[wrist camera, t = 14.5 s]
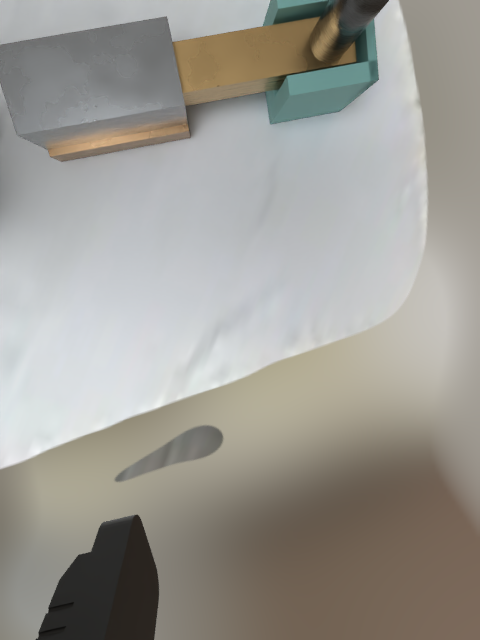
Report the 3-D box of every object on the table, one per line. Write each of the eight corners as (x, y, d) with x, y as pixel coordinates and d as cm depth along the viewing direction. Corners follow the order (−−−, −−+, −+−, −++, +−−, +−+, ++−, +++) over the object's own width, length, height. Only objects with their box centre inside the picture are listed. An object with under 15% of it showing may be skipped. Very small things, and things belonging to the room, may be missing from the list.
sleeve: (61, 161, 31) (19, 143, 24) (38, 82, 30) (-15, 37, 23) (190, 137, 32) (186, 113, 25) (173, 58, 30) (165, 7, 23)
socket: (270, 124, 32) (289, 95, 25) (257, 42, 31) (274, -14, 23) (339, 111, 33) (378, 79, 25) (330, 29, 31) (370, -30, 24)
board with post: (161, 110, 28) (130, 26, 16) (151, 65, 27) (111, -59, 15) (341, 77, 29) (441, -27, 17) (336, 32, 28) (438, -111, 16)
